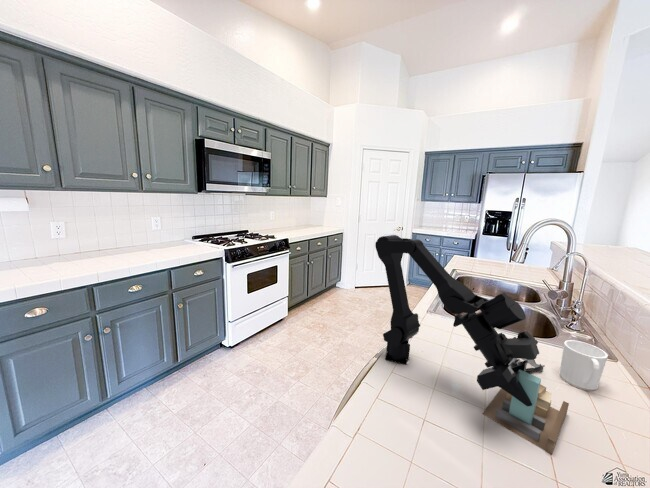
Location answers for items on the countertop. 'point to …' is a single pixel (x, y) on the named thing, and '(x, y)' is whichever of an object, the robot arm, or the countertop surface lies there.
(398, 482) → the countertop surface
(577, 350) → the mug
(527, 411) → the block
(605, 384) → the countertop surface
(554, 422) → the rack
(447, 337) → the countertop surface
